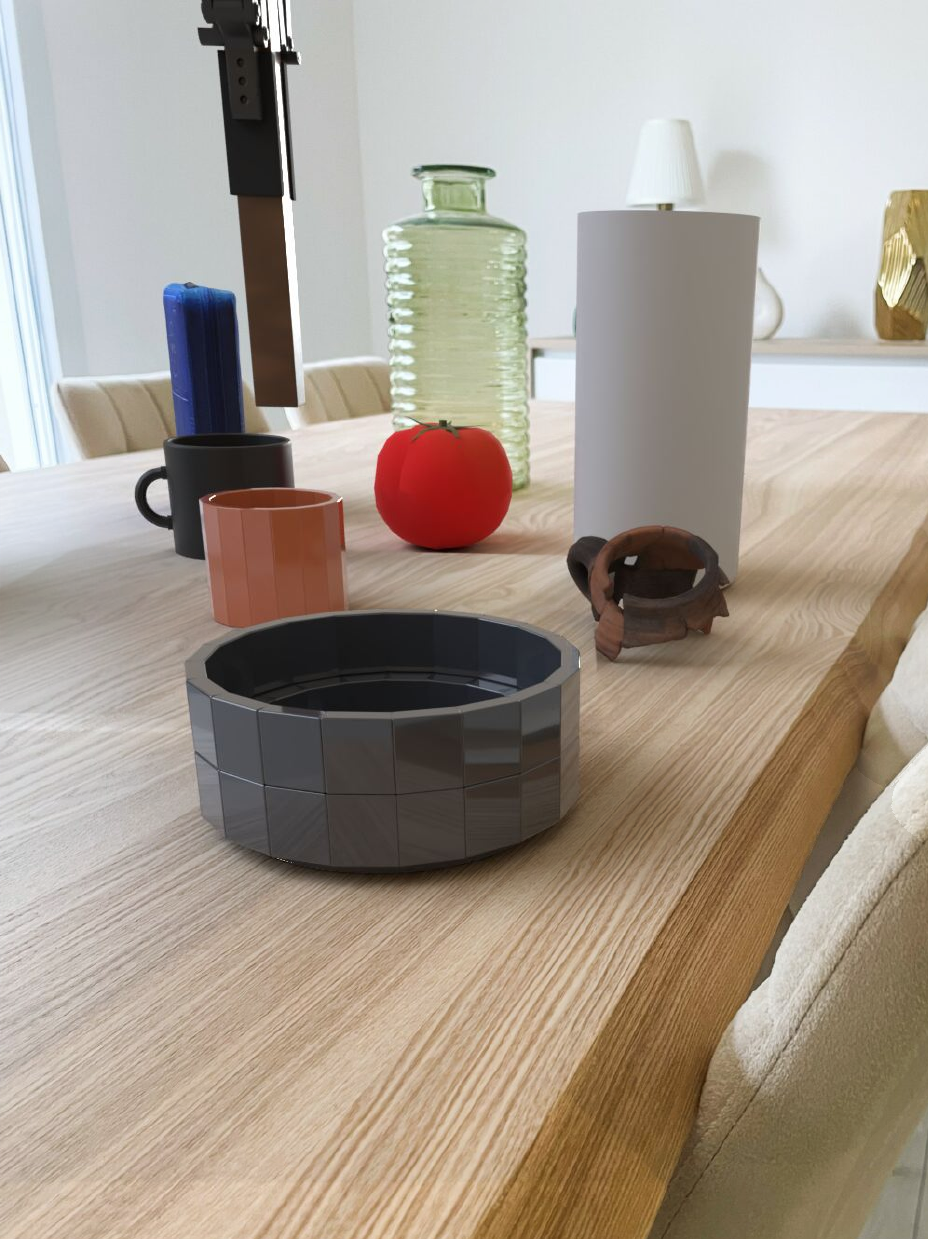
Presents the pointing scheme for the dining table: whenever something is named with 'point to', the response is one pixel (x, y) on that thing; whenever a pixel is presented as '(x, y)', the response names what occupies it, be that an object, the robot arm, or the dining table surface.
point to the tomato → (443, 484)
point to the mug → (212, 478)
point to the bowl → (385, 736)
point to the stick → (272, 275)
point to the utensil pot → (273, 554)
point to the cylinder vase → (664, 373)
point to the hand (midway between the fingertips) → (264, 196)
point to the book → (204, 359)
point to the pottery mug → (648, 586)
